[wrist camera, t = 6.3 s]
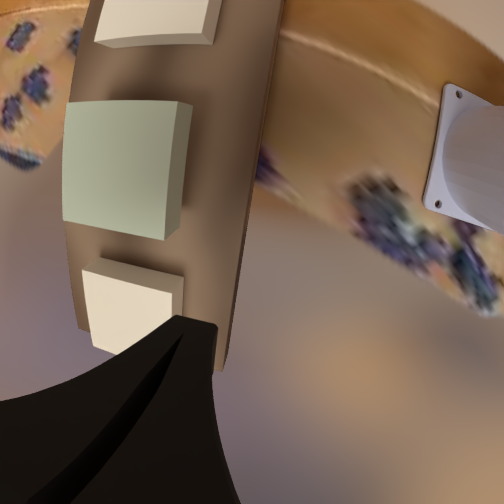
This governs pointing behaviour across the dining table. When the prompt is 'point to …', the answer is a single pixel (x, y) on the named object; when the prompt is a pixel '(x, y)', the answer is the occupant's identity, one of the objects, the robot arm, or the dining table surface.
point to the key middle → (125, 165)
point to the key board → (189, 152)
